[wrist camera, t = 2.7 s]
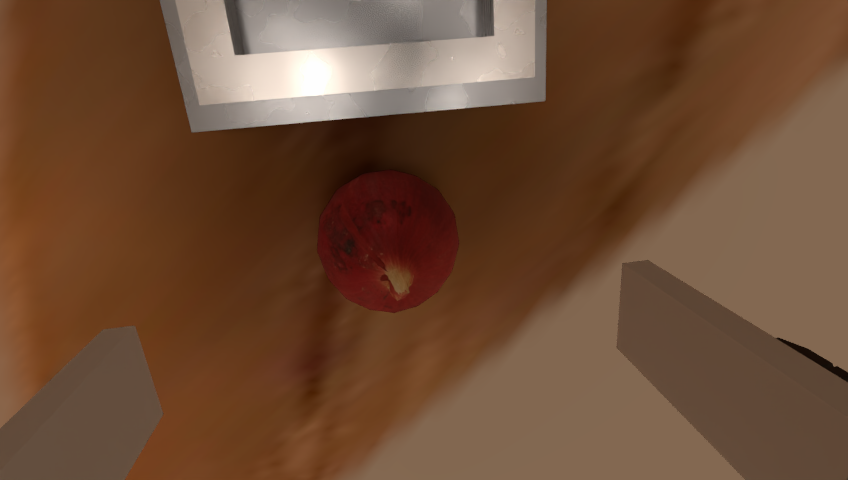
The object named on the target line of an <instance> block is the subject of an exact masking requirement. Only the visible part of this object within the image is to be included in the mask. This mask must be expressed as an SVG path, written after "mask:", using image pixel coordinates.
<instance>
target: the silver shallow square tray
mask: <svg viewBox="0 0 848 480" xmlns="http://www.w3.org/2000/svg"><path fill="white" fill-rule="evenodd" d="M160 3H161V8H162V12H163V16H164V20H165V24H166V28H167V32H168V37H169V41H170V45H171V49H172V53H173V57H174V61H175V65H176V70H177V74H178V78H179V82H180V86H181V90H182V94H183V98H184V103H185V107H186V111H187V115H188V119H189V123H190V127H191V131H192V132H202V131H214V130H225V129H236V128H247V127H259V126H270V125H281V124H293V123H304V122H315V121H326V120H338V119H349V118H360V117H372V116H383V115H394V114H405V113H417V112H428V111H439V110H450V109H462V108H473V107H484V106H496V105H507V104H518V103H529V102H541V101H545V99H546V21H547V0H160Z"/></svg>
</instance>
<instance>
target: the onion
mask: <svg viewBox="0 0 848 480" xmlns="http://www.w3.org/2000/svg"><path fill="white" fill-rule="evenodd" d="M458 246H459V239H458V233H457V227H456V220H455V216H454V213H453V211H452V209H451V208H450V206H449V205H448V203H447V202H446V201H445V199H444V198H443V196H442V195H441V193H440V192H439V190H438V189H436V188H434V187H433V186H431V185H430V184H428V183H426V182H425V181H423V180H422V179H420V178H418V177H417V176H415V175H411V174H407V173H403V172H399V171H394V170H383V171H376V172H370V173H363V174H362V175H360V176H358V177H357V178H355V179H353V180H352V181H350V182H348V183H346V184H345V185H343V186H341V187H340V188H339V189H338V190H336V192H335V193H334V195H333V197H332V198H331V200H330V201H329V203H328V204H327V206H326V208H325V209H324V211H323V212H322V214H321V215H320V221H319V232H318V244H317V252H318V254H319V257H320V259H321V262H322V264H323V267H324V269H325V272H326V274H327V277H328V278H329V280H330V282H331V283H332V284H333V285H334V286H335V287H336V288H337V289H338V290H339V291H340V292H341V293H342V294H343V295H344V297H345V298H346V299H348V300H350V301H352V302H354V303H357V304H359V305H361V306H363V307H365V308H368V309H370V310H376V311H385V312H392V313H395V312H399V311H402V310H405V309H409V308H412V307H416V306H418V305H420V304H421V303H423V302H424V301H425V300H427V299H428V298H430V297H431V296H432V295H434V294H435V293H437V292H438V290H439V289H440V287H441V286H442V285H443V283H444V282H445V280H446V279H447V278H448V276H449V275H450V273H451V271H452V269H453V266H454V262H455V258H456V254H457V250H458Z"/></svg>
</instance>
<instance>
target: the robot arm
mask: <svg viewBox="0 0 848 480" xmlns="http://www.w3.org/2000/svg"><path fill="white" fill-rule="evenodd" d="M617 349H618V350H619V351H620V352H621V353H622V354H623V355H624V356H625V357H626V358H627V359H628V360H629V361H630V362H631V363H632V364H633V365H634V366H635V367H636V368H637V369H638V370H639V371H640V372H641V373H642V374H643V375H644V376H645V377H646V378H647V379H648V380H649V381H650V382H651V383H652V384H653V386H655V387H656V389H657V390H658V391H659V392H660V393H661V394H662V395H663V396H664V397H665V398H666V399H667V400H668V401H669V402H670V403H671V404H672V405H673V406H674V407H675V408H676V409H677V410H678V411H679V412H680V413H681V414H682V415H683V416H684V417H685V418H686V419H687V420H688V421H689V422H690V424H692V425H693V427H694V428H696V430H697V431H698V432H699V433H700V434H701V435H702V436H703V437H704V438H705V439H706V440H707V441H708V442H709V443H710V444H711V445H712V446H713V447H714V448H715V449H716V450H717V451H718V452H719V453H720V454H721V455H722V456H723V457H724V458H725V459H726V460H727V461H728V462H729V464H730V465H732V467H733V468H734V469H735V470H736V471H737V472H738V473H739V474H740V475H741V476H742V477H743V478H744V479H745V480H848V372H846V371H844V370H843V369H841V368H839V367H837V366H836V367H834V366H833V364H832V363H831V362H829V361H828V360H826V359H824V358H823V357H821V356H819V355H817V354H816V353H814V352H812V351H811V350H809V349H807V348H804V347H801V346H799V345H796V344H794V343H791V342H789V341H786V340H783V339H780V338H774V337H773V336H771V335H769V334H768V333H766V332H765V331H763V330H761V329H760V328H758V327H756V326H755V325H753V324H752V323H750V322H748V321H747V320H745V319H743V318H742V317H740V316H738V315H737V314H735V313H733V312H732V311H730V310H729V309H727V308H725V307H723V306H722V305H720V304H719V303H717V302H715V301H714V300H712V299H711V298H709V297H707V296H706V295H704V294H702V293H700V292H699V291H697V290H696V289H694V288H693V287H691V286H689V285H688V284H686V283H684V282H683V281H681V280H679V279H678V278H676V277H674V276H673V275H671V274H670V273H668V272H667V271H665V270H663V269H662V268H660V267H658V266H657V265H655V264H653V263H652V262H650V261H649V260H645V261H637V262H629V263H622V277H621V291H620V307H619V320H618V335H617ZM162 416H163V412H162V408H161V405H160V402H159V399H158V396H157V393H156V390H155V387H154V384H153V380H152V377H151V374H150V371H149V368H148V365H147V362H146V359H145V356H144V353H143V349H142V346H141V343H140V340H139V337H138V334H137V331H136V328H135V326H128V327H120V328H113V329H105V330H102V331H101V332H100V333H99V334H98V335H97V336H96V337H95V338H94V339H93V340H92V341H91V342H90V343H89V344H88V345H87V346H86V347H85V348H84V349H82V350H81V351H80V352H79V353H78V354H77V355H76V356H75V357H74V358H73V359H72V360H71V361H70V362H69V363H68V364H67V365H66V366H65V367H64V368H63V369H62V370H61V371H60V372H59V373H58V374H56V375H55V376H54V377H53V378H52V379H51V380H50V381H49V382H48V383H47V384H46V385H45V386H44V387H43V388H42V389H41V390H40V391H39V392H38V393H37V394H36V395H35V396H34V397H33V398H32V399H30V400H29V401H28V402H27V403H26V404H25V405H24V406H23V407H22V408H21V409H20V410H19V411H18V412H17V413H16V414H15V415H14V416H13V417H12V418H11V419H10V420H9V421H8V422H7V423H6V424H4V425H3V426H2V427H1V428H0V480H125V478H126V476H127V475H128V473H129V471H130V470H131V468H132V466H133V464H134V463H135V461H136V459H137V458H138V456H139V454H140V453H141V451H142V449H143V448H144V446H145V444H146V443H147V441H148V439H149V437H150V436H151V434H152V432H153V431H154V429H155V427H156V426H157V424H158V422H159V421H160V419H161V417H162Z"/></svg>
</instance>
